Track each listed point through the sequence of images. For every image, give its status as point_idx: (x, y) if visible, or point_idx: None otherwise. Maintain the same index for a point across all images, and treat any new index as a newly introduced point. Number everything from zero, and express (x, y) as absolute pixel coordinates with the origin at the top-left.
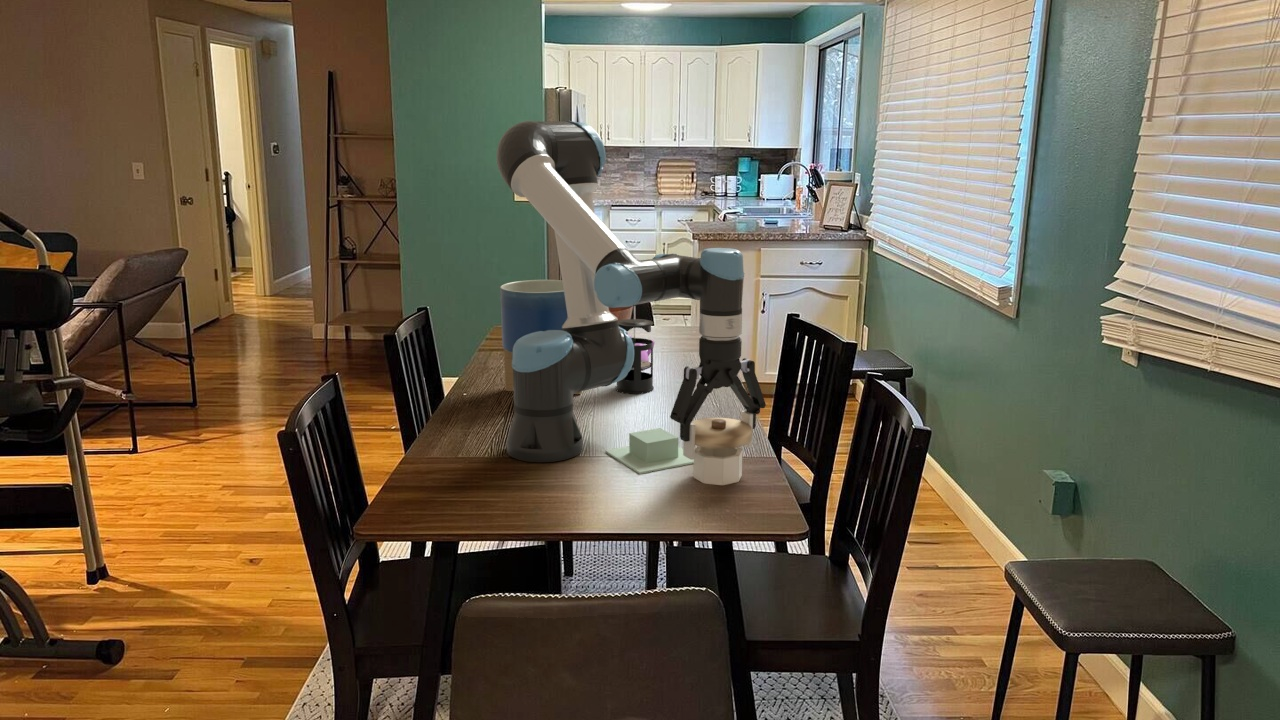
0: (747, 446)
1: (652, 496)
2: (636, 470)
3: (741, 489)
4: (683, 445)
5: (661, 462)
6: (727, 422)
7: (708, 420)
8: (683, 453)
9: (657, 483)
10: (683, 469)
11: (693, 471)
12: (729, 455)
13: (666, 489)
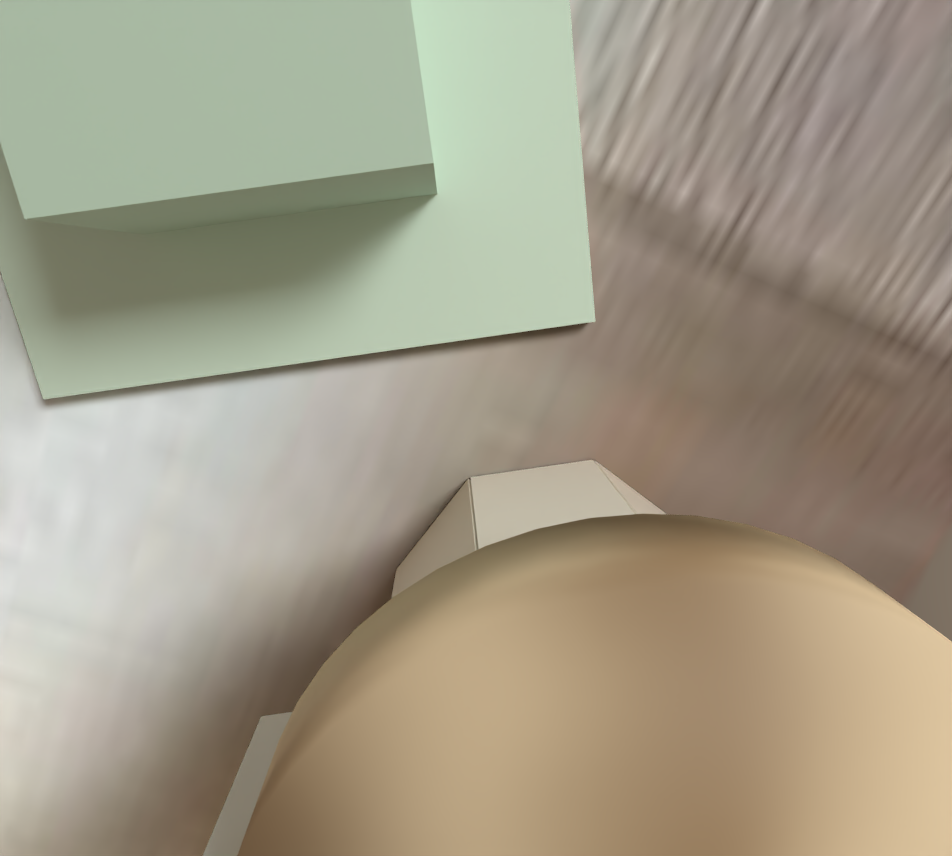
0: None
1: (56, 747)
2: (28, 349)
3: None
4: (228, 796)
5: (265, 261)
6: (885, 843)
7: (698, 695)
8: (255, 734)
9: (137, 585)
10: (391, 414)
11: (393, 588)
12: None
13: (166, 684)
